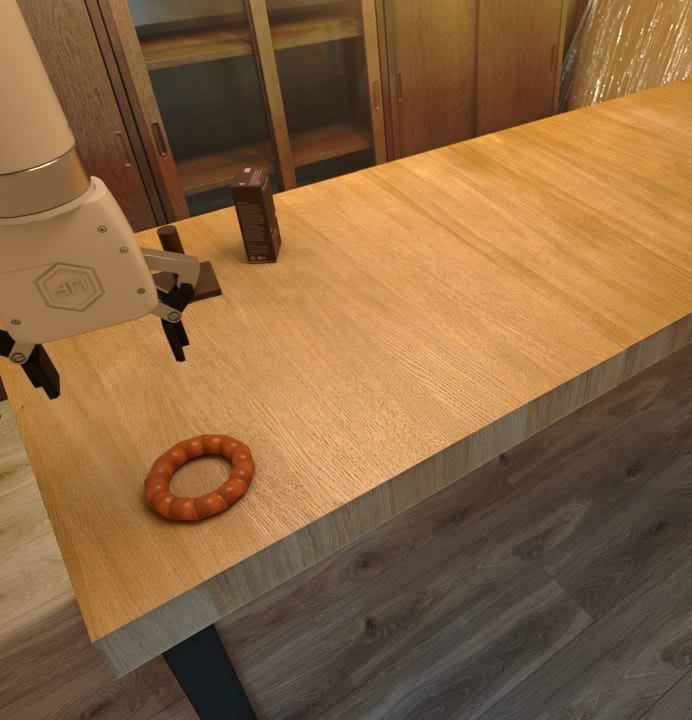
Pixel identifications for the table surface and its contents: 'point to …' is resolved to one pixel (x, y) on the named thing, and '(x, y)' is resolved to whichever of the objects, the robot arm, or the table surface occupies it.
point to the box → (256, 214)
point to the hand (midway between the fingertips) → (119, 369)
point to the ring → (207, 503)
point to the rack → (166, 280)
